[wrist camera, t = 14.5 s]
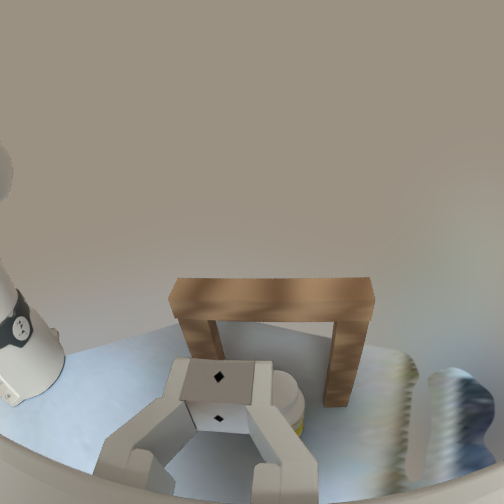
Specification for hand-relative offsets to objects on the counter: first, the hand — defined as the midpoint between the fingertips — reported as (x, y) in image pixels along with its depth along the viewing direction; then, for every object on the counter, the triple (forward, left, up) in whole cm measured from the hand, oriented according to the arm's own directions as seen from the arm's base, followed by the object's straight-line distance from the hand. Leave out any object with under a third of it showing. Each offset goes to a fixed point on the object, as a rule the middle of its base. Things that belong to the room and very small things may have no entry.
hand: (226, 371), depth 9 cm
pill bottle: (0, +11, -29) cm, 31 cm away
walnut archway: (0, +15, -29) cm, 33 cm away
